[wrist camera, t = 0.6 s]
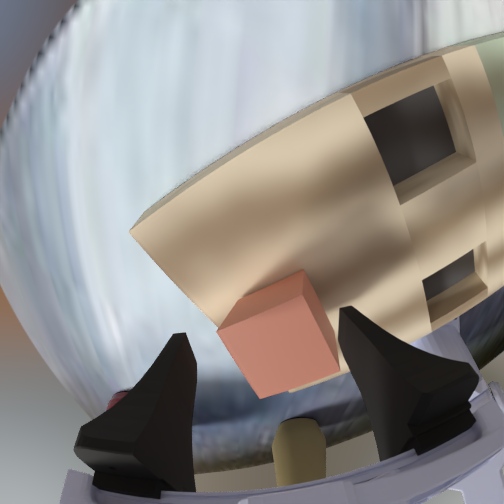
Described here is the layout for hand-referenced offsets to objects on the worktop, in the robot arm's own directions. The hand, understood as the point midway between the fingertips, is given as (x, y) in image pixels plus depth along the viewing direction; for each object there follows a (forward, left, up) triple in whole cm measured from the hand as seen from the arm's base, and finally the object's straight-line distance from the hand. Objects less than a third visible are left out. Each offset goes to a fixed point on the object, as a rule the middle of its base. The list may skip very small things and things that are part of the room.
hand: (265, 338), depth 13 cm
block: (-4, +1, -5) cm, 7 cm away
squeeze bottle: (-31, +12, -10) cm, 34 cm away
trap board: (-4, -12, -9) cm, 16 cm away
